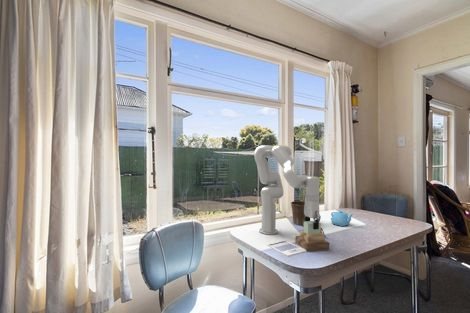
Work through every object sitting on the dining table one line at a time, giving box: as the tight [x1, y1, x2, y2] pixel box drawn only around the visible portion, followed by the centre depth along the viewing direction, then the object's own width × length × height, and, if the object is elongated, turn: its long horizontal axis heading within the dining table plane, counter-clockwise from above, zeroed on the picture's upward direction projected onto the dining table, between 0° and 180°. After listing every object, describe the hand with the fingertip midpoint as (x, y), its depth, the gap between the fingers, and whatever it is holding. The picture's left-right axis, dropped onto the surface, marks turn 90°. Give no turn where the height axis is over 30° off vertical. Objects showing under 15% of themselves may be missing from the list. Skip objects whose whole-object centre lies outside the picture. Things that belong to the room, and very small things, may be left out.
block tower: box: [294, 229, 330, 252], centre depth 145 cm, size 14×14×8 cm
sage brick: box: [303, 220, 322, 234], centre depth 145 cm, size 5×8×6 cm, turn 102°
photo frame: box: [266, 240, 307, 257], centre depth 142 cm, size 15×1×18 cm
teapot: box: [330, 210, 354, 227], centre depth 191 cm, size 13×11×18 cm
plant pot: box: [290, 200, 305, 227], centre depth 193 cm, size 16×16×16 cm
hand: (311, 226), depth 146 cm, fingers open, 9 cm apart
